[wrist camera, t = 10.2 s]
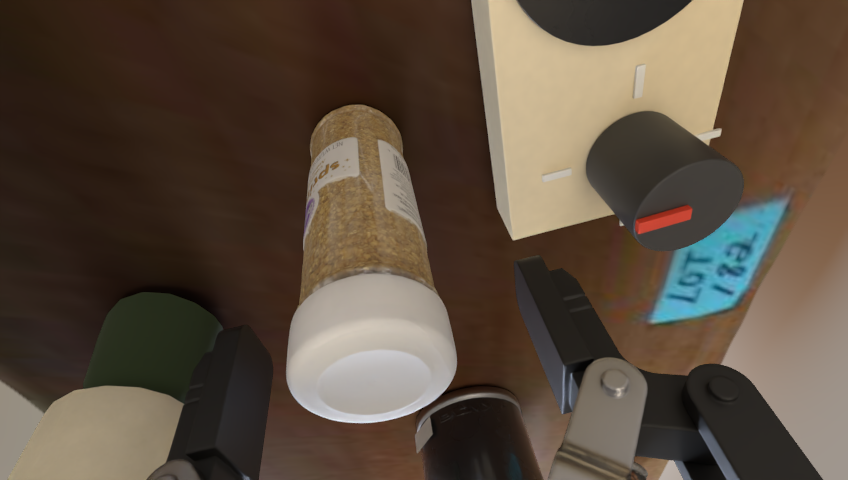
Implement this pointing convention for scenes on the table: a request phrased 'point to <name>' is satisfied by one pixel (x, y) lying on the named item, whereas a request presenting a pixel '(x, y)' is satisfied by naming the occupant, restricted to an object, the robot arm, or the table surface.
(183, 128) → the table surface
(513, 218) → the hob
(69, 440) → the character mug
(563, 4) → the burner
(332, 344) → the sprinkles bottle
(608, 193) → the knob
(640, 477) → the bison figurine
